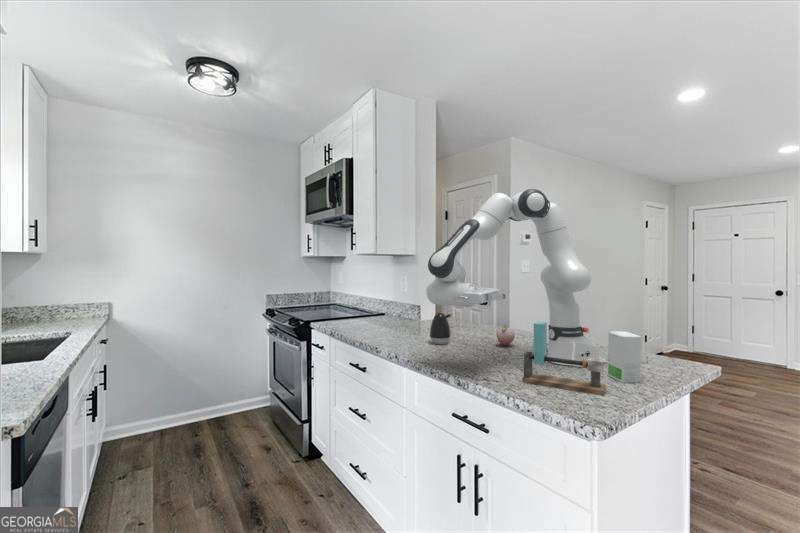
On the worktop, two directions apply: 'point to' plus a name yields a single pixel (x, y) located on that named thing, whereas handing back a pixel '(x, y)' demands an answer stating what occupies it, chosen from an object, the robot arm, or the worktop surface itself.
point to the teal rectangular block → (540, 342)
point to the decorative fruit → (505, 335)
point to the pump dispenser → (440, 329)
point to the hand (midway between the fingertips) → (504, 296)
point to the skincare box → (624, 356)
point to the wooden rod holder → (566, 383)
